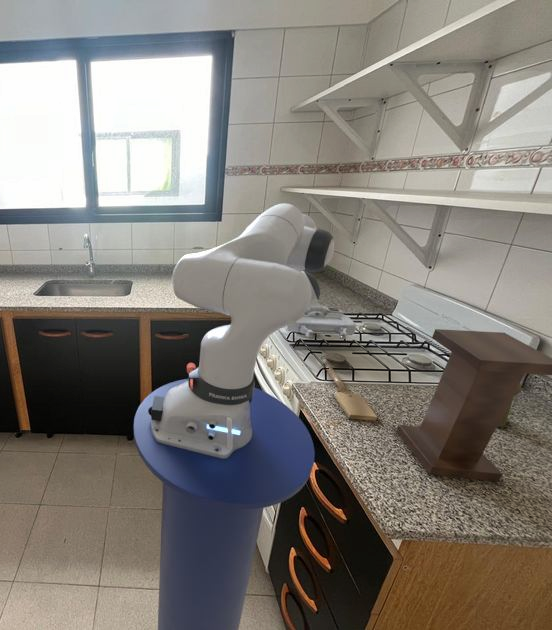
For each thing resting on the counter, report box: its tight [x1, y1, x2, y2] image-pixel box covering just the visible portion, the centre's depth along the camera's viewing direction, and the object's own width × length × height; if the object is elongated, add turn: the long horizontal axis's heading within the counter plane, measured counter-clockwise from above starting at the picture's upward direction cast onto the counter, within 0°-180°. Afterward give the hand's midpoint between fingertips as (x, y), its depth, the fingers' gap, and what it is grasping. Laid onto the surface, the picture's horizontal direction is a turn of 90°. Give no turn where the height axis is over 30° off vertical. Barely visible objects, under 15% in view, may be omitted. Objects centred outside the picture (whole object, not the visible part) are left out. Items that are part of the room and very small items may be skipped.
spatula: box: [325, 364, 378, 422], centre depth 92 cm, size 6×23×2 cm, turn 172°
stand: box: [395, 328, 552, 482], centre depth 67 cm, size 12×12×26 cm
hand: (327, 335), depth 104 cm, fingers open, 8 cm apart
